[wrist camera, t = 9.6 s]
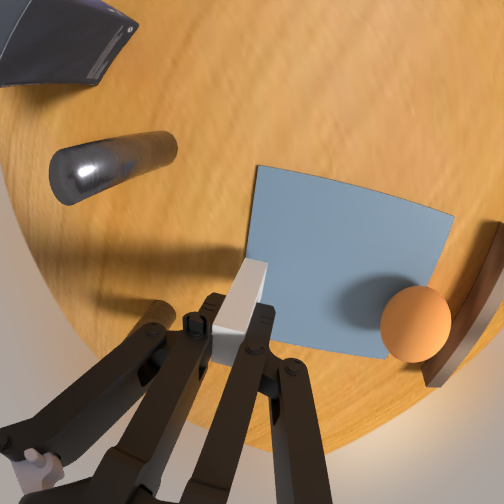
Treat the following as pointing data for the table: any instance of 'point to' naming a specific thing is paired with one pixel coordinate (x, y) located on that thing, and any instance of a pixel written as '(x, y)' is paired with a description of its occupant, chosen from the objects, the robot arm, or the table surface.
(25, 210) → the table surface
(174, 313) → the post
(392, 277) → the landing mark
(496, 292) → the stopper wall
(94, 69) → the small box
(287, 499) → the robot arm
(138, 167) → the post
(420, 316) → the ball
